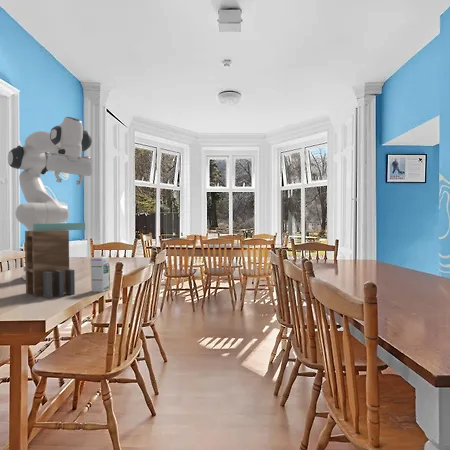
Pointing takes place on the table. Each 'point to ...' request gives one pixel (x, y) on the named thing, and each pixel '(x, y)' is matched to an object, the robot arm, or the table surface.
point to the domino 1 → (47, 284)
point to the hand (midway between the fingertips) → (69, 183)
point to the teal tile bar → (58, 226)
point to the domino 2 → (59, 283)
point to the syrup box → (100, 274)
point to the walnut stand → (45, 257)
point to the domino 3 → (70, 281)
